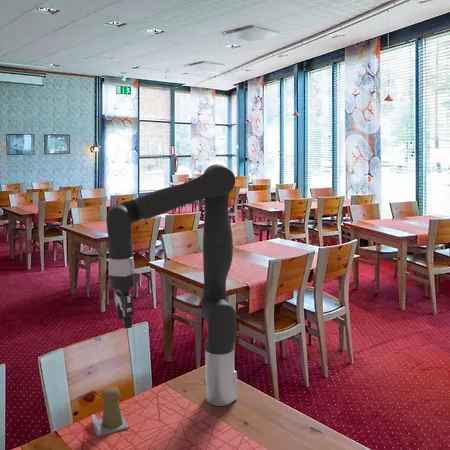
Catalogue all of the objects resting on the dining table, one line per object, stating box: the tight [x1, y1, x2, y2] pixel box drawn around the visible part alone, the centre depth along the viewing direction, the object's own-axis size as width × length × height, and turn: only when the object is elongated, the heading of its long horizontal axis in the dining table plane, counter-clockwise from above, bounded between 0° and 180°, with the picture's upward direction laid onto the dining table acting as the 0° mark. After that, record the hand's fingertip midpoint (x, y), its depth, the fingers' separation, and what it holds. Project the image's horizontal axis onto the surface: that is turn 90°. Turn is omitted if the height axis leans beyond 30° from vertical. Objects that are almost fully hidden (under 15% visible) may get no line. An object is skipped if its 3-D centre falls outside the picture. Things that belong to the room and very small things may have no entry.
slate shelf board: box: [97, 412, 129, 437], centre depth 149 cm, size 8×8×1 cm
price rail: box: [91, 413, 101, 437], centre depth 147 cm, size 1×8×2 cm, turn 25°
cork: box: [101, 385, 123, 429], centre depth 148 cm, size 6×6×11 cm
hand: (124, 323), depth 153 cm, fingers open, 8 cm apart
